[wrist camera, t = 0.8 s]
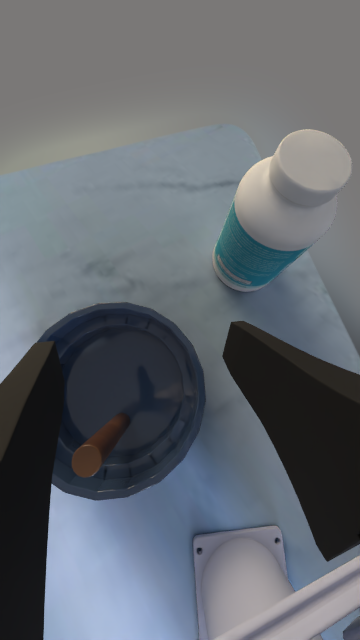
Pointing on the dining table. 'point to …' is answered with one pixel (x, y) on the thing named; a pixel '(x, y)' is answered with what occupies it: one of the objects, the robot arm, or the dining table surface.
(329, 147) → the pill bottle
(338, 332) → the dining table surface
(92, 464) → the stirring stick
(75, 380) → the bowl
